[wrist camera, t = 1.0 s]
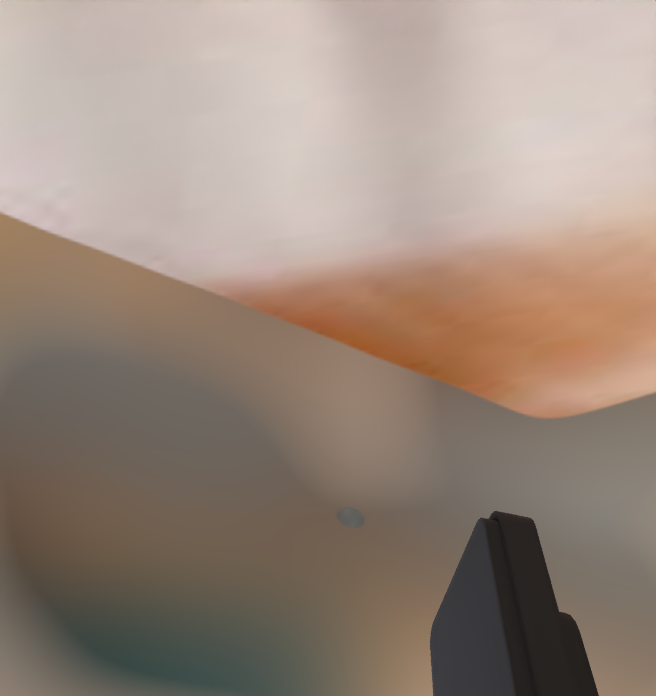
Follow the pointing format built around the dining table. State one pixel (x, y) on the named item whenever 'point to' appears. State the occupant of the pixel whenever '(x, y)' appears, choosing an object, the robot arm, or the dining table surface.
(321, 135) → the dining table surface
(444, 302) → the dining table surface
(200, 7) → the dining table surface
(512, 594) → the robot arm
